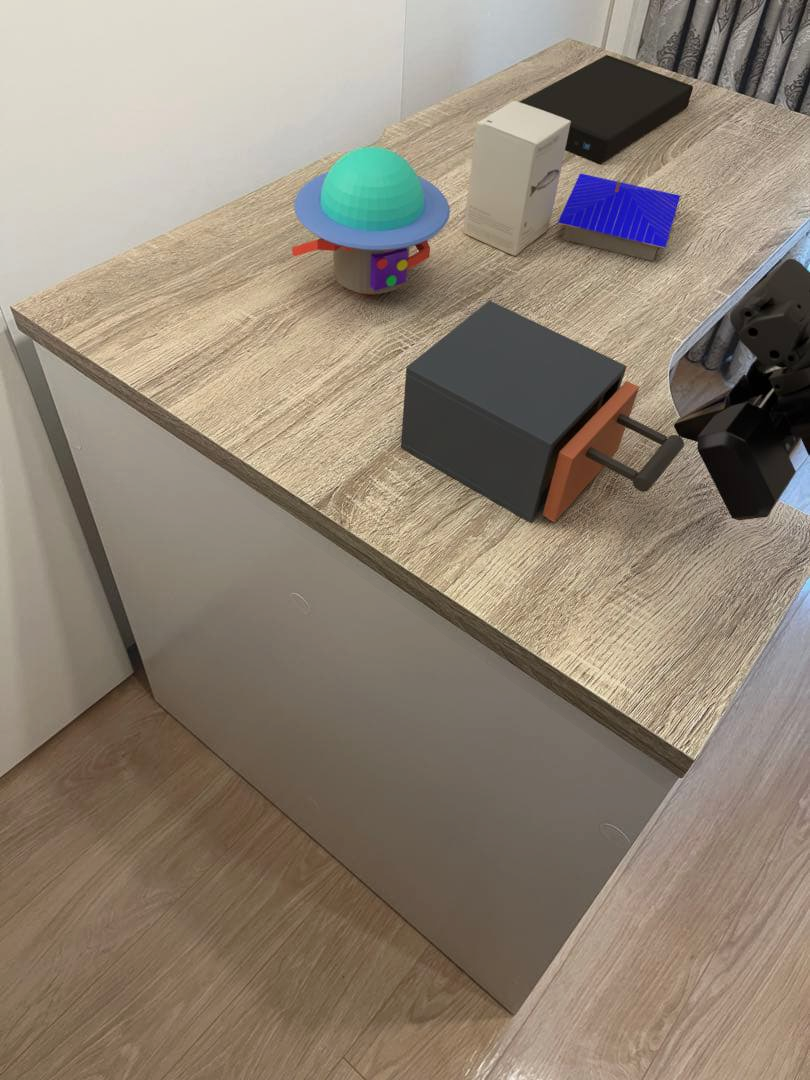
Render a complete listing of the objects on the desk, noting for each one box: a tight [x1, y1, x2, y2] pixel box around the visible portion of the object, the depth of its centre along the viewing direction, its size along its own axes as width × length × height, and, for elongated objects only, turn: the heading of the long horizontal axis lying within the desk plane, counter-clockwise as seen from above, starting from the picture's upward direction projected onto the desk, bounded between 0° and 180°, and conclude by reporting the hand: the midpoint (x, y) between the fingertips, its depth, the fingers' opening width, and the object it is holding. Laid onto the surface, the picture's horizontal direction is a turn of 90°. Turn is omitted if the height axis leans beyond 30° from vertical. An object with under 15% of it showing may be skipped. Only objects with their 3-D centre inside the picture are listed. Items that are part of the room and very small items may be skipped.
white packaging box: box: [462, 100, 571, 257], centre depth 93 cm, size 7×7×13 cm
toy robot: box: [292, 146, 451, 296], centre depth 84 cm, size 15×15×14 cm
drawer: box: [542, 380, 685, 523], centre depth 70 cm, size 18×11×7 cm, turn 53°
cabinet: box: [400, 300, 627, 524], centre depth 72 cm, size 13×12×9 cm
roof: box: [557, 173, 681, 262], centre depth 98 cm, size 12×12×5 cm
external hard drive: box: [519, 54, 694, 165], centre depth 117 cm, size 14×23×3 cm, turn 140°
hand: (678, 428), depth 63 cm, fingers closed
